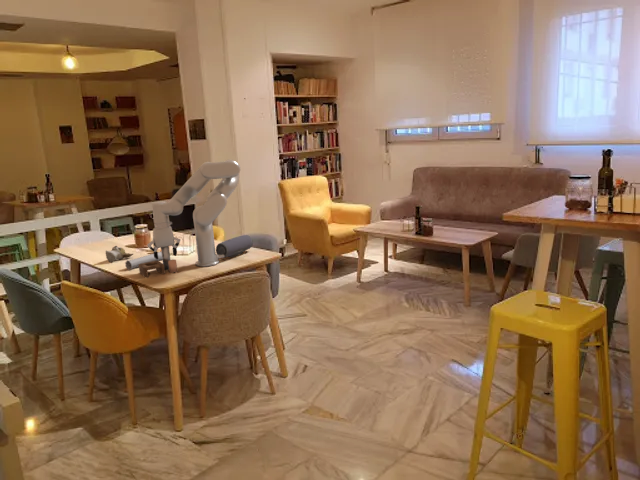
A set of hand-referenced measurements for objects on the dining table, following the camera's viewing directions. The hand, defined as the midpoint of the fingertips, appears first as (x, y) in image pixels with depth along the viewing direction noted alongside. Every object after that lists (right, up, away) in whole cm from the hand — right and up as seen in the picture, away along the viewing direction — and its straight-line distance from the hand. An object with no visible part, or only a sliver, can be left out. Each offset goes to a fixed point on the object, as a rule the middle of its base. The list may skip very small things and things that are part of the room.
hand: (165, 257), depth 268 cm
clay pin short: (+5, -7, -5) cm, 10 cm away
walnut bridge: (-5, -8, -6) cm, 11 cm away
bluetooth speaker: (+33, 0, +22) cm, 40 cm away
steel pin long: (0, -6, +2) cm, 6 cm away
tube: (-14, -4, +14) cm, 21 cm away
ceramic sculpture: (-35, -3, +26) cm, 44 cm away
